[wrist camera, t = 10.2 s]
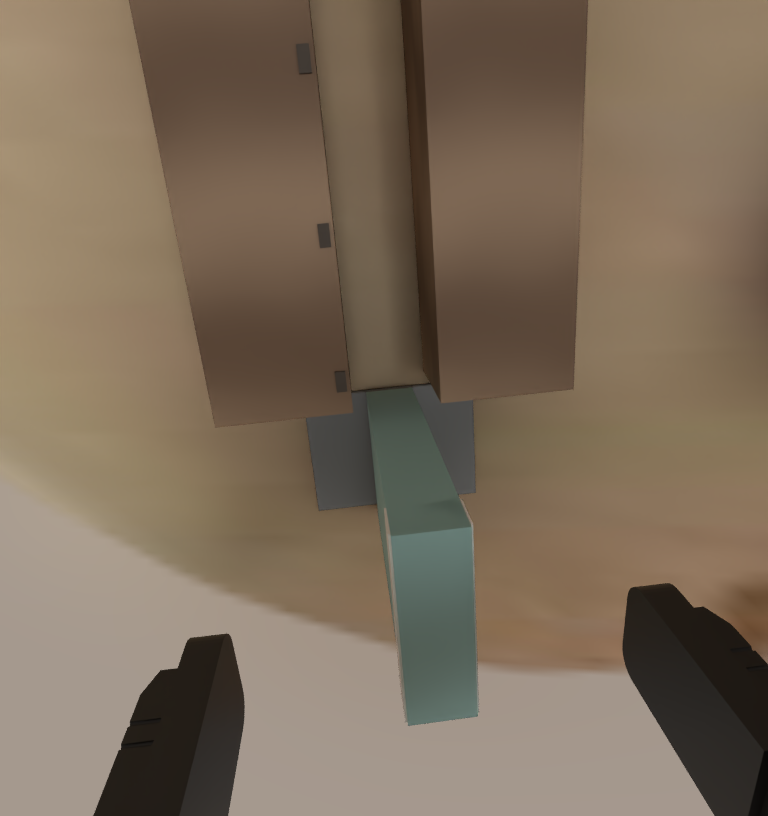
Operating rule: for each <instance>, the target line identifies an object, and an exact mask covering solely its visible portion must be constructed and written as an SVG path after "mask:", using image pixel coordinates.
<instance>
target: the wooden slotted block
mask: <svg viewBox="0 0 768 816" xmlns="http://www.w3.org/2000/svg"><path fill="white" fill-rule="evenodd" d="M129 3H130V8H131V13H132V18H133V23H134V28H135V33H136V38H137V43H138V48H139V53H140V58H141V62H142V67H143V72H144V77H145V82H146V87H147V92H148V97H149V102H150V107H151V112H152V117H153V122H154V127H155V132H156V137H157V142H158V147H159V151H160V156H161V161H162V166H163V171H164V176H165V181H166V186H167V191H168V196H169V201H170V206H171V211H172V216H173V221H174V226H175V231H176V236H177V241H178V245H179V250H180V255H181V260H182V265H183V270H184V275H185V280H186V285H187V290H188V295H189V300H190V305H191V310H192V315H193V320H194V325H195V330H196V334H197V339H198V344H199V349H200V354H201V359H202V364H203V369H204V374H205V379H206V384H207V389H208V394H209V399H210V404H211V409H212V414H213V419H214V423H215V428H216V427H225V426H234V425H244V424H253V423H262V422H272V421H281V420H291V419H300V418H309V417H319V416H328V415H337V414H347V413H353V405H352V394H351V383H350V373H349V364H348V355H347V345H346V336H345V327H344V318H343V309H342V299H341V290H340V281H339V272H338V262H337V253H336V244H335V235H334V225H333V216H332V207H331V198H330V188H329V179H328V170H327V161H326V151H325V142H324V133H323V124H322V115H321V105H320V96H319V87H318V78H317V68H316V59H315V50H314V41H313V31H312V22H311V13H310V4H309V0H129ZM401 9H402V26H403V42H404V59H405V75H406V92H407V108H408V125H409V142H410V158H411V175H412V191H413V208H414V224H415V241H416V257H417V274H418V291H419V307H420V324H421V340H422V357H423V371H424V373H425V375H426V376H427V378H428V380H429V382H430V384H431V386H432V388H433V389H434V391H435V393H436V395H437V397H438V399H439V400H440V402H441V403H450V402H459V401H468V400H478V399H487V398H496V397H506V396H515V395H525V394H534V393H543V392H553V391H562V390H571V389H574V364H575V337H576V310H577V283H578V256H579V229H580V202H581V175H582V148H583V122H584V95H585V68H586V41H587V14H588V0H401Z"/></svg>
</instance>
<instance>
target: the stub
mask: <svg viewBox="0 0 768 816" xmlns="http://www.w3.org/2000/svg"><path fill="white" fill-rule="evenodd" d="M366 397H367V407H368V417H369V427H370V437H371V447H372V457H373V467H374V478H375V488H376V498H377V508H378V518H379V525H380V532H381V539H382V546H383V553H384V560H385V567H386V574H387V581H388V588H389V595H390V602H391V609H392V616H393V623H394V630H395V637H396V645H397V655H398V665H399V676H400V687H401V694H402V701H403V709H404V716H405V722H408V726H410V725H418V724H426V723H433V722H440V721H447V720H455V719H462V718H470V717H477V716H478V712H479V698H478V665H477V633H476V601H475V569H474V537H473V523H472V520H471V518H470V516H469V513H468V511H467V509H466V507H465V504H464V502H463V500H462V499H460V498H459V496H458V494H457V491H456V489H455V487H454V484H453V482H452V480H451V477H450V475H449V473H448V470H447V468H446V466H445V463H444V461H443V459H442V456H441V454H440V452H439V449H438V447H437V445H436V442H435V440H434V438H433V435H432V433H431V431H430V428H429V426H428V424H427V421H426V419H425V417H424V414H423V412H422V410H421V407H420V405H419V403H418V400H417V398H416V396H415V393H414V391H413V389H412V387H409V388H400V389H390V390H381V391H371V392H366Z"/></svg>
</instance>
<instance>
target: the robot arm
mask: <svg viewBox="0 0 768 816" xmlns="http://www.w3.org/2000/svg"><path fill="white" fill-rule="evenodd" d="M623 657H624V661H625V665H626V668H627V671H628V673H629V675H630V678H631V679H632V681H633V683H634V684H635V686H636V687H637V689H638V691H639V692H640V694H641V696H642V697H643V699H644V701H645V702H646V704H647V706H648V707H649V709H650V711H651V712H652V714H653V716H654V717H655V718H656V720H657V722H658V724H659V725H660V727H661V729H662V730H663V732H664V733H665V735H666V737H667V739H668V740H669V742H670V743H671V745H672V747H673V748H674V750H675V752H676V753H677V755H678V756H679V758H680V760H681V761H682V763H683V765H684V766H685V768H686V770H687V771H688V773H689V775H690V776H691V778H692V779H693V781H694V782H695V784H696V786H697V788H698V789H699V791H700V793H701V794H702V796H703V797H704V799H705V801H706V802H707V804H708V806H709V807H710V809H711V811H712V812H713V814H714V815H715V816H768V664H767V663H766V662H765V661H764V660H763V659H762V657H761V656H760V655H759V654H758V653H757V652H756V651H753V650H752V648H751V645H750V644H749V643H748V642H747V641H746V640H745V639H744V638H743V637H742V636H741V635H740V634H739V632H738V631H737V630H736V629H735V628H734V627H733V626H732V625H731V624H730V623H728V622H727V621H725V620H724V619H722V618H720V617H719V616H717V615H716V614H714V613H713V612H711V611H709V610H708V609H706V608H705V607H697V608H693V606H692V605H691V604H690V603H689V602H688V601H687V599H686V598H685V597H684V596H683V595H682V594H681V593H680V591H679V590H678V589H677V588H676V587H675V586H674V585H672V584H670V583H665V584H657V585H648V586H640V587H633V588H631V589H630V590H629V592H628V597H627V607H626V616H625V626H624V635H623ZM243 724H244V694H243V688H242V684H241V679H240V674H239V670H238V665H237V661H236V657H235V652H234V647H233V643H232V639H231V637H230V635H229V634H220V635H211V636H204V637H194V638H190V639H189V640H188V641H187V643H186V646H185V648H184V651H183V654H182V657H181V660H180V663H179V666H178V668H177V669H168V670H160V672H159V673H158V674H157V675H156V676H155V678H154V679H153V680H152V681H151V683H150V684H149V685H148V686H147V688H146V689H145V690H144V691H143V692H142V694H141V695H140V697H139V700H138V702H137V705H136V708H135V710H134V713H133V715H132V718H131V720H130V727H128V728H127V731H126V733H125V736H124V739H123V741H122V743H121V750H119V751H118V754H117V756H116V759H115V761H114V764H113V767H112V769H111V772H110V774H109V777H108V780H107V782H106V785H105V787H104V790H103V792H102V795H101V798H100V800H99V803H98V805H97V808H96V811H95V813H94V815H93V816H228V813H229V807H230V801H231V795H232V790H233V784H234V778H235V772H236V766H237V760H238V755H239V749H240V743H241V737H242V731H243Z"/></svg>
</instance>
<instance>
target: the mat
mask: <svg viewBox="0 0 768 816" xmlns="http://www.w3.org/2000/svg"><path fill="white" fill-rule="evenodd" d="M409 387H412V389H413V391H414V393H415V396H416V398H417V400H418V403H419V405H420V407H421V410H422V412H423V414H424V417H425V419H426V421H427V424H428V426H429V428H430V431H431V433H432V435H433V438H434V440H435V442H436V445H437V447H438V449H439V452H440V454H441V456H442V459H443V461H444V463H445V466H446V468H447V470H448V473H449V475H450V477H451V480H452V482H453V484H454V487H455V489H456V491H457V494H458V495H459V494H468V493H476V488H475V453H474V418H473V400H468V401H459V402H450V403H441V402H440V400H439V399H438V397H437V395H436V393H435V391H434V389H433V388H432V386H431V384H430V383H429V384H419V385H410V386H400V387H391V388H381V389H372V390H362V391H352V392H351V394H352V405H353V413H347V414H337V415H328V416H319V417H309V418H306V422H307V429H308V436H309V443H310V451H311V458H312V465H313V472H314V479H315V486H316V493H317V500H318V507H319V511H321V510H329V509H338V508H347V507H355V506H364V505H373V504H377V498H376V488H375V478H374V467H373V457H372V447H371V437H370V427H369V417H368V407H367V397H366V392H371V391H381V390H390V389H400V388H409Z"/></svg>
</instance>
